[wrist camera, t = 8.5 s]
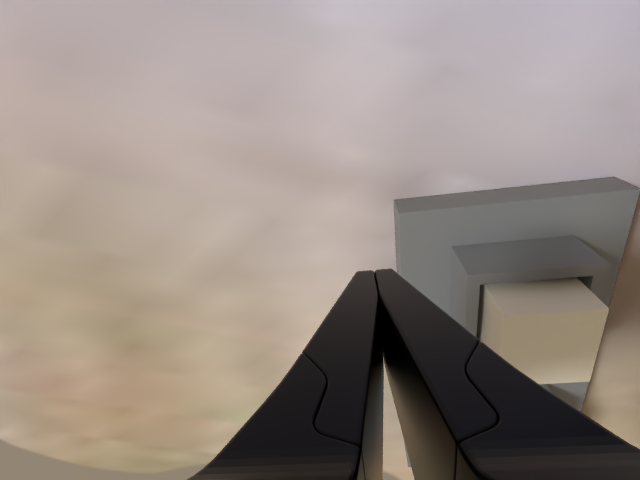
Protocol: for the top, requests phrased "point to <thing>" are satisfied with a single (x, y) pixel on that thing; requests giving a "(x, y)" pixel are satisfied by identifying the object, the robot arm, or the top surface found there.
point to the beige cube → (543, 327)
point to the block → (514, 244)
